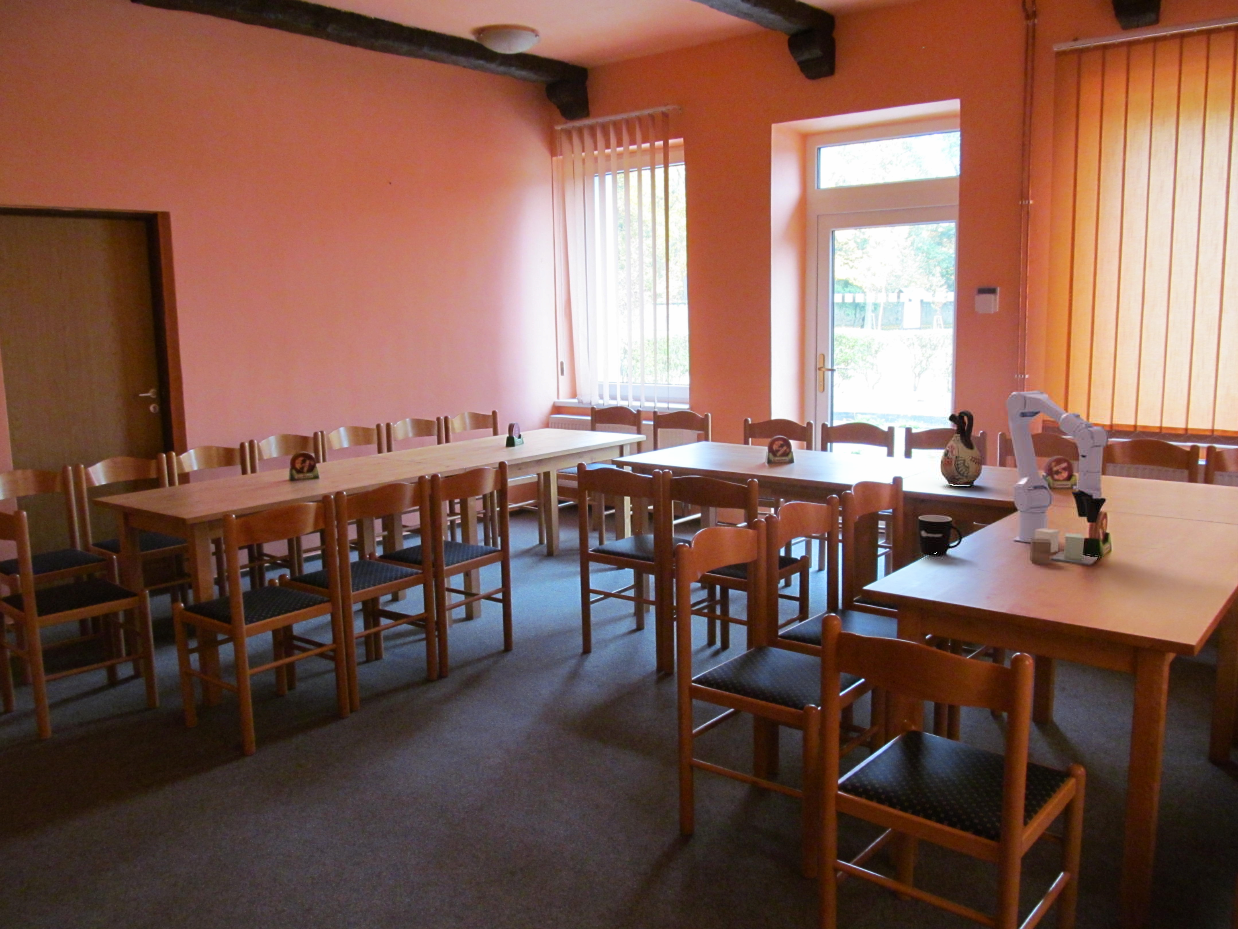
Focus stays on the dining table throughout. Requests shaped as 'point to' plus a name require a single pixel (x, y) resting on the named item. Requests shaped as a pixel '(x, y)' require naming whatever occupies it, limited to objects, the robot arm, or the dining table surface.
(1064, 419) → the robot arm
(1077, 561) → the coaster
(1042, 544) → the walnut block
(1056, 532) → the cream block
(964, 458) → the ceramic jug
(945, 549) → the mug
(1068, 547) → the green block
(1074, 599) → the dining table surface
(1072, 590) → the dining table surface
